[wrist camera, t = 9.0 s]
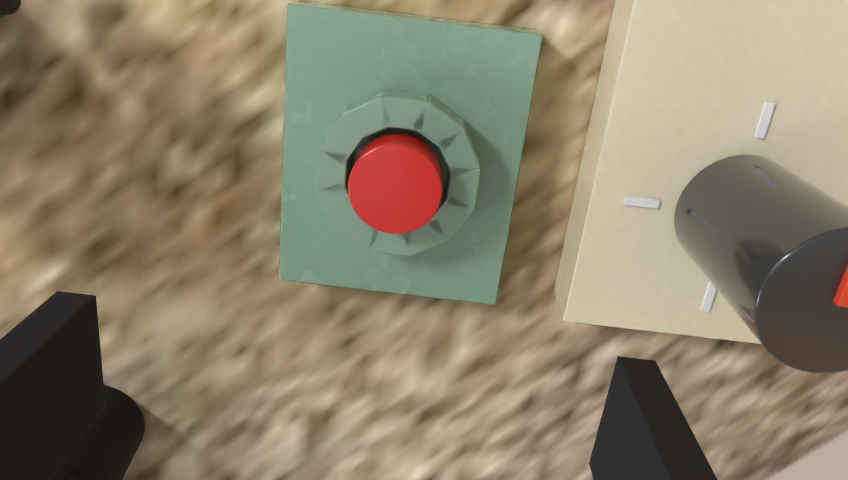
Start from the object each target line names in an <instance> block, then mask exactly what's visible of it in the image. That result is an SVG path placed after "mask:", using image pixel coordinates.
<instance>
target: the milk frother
mask: <svg viewBox="0 0 848 480" xmlns="http://www.w3.org/2000/svg"><path fill="white" fill-rule="evenodd" d="M20 4H21V0H0V17H2V16H4V15H7V14H12V13H15V12H16V11H17V10H18V9H19V6H20Z"/></svg>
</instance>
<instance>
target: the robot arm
mask: <svg viewBox="0 0 848 480" xmlns="http://www.w3.org/2000/svg"><path fill="white" fill-rule="evenodd" d="M104 410H105V397H104V385H103V374H102V362H101V351H100V339H99V328H98V316H97V305H96V296H93V295H85V294H76V293H68V292H59V291H57V292H56V293H55V294H54V295H53V296H51V297H50V298H49V299H48V300H47V301H45V302H44V303H43V304H42V305H41V306H39V307H38V308H37V309H36V310H35V311H34V312H32V313H31V314H30V315H29V316H28V317H26V318H25V319H24V320H23V321H22V322H20V323H19V324H18V325H17V326H16V327H15V328H13V329H12V330H11V331H10V332H9V333H7V334H6V335H5V336H4V337H3V338H1V339H0V480H51V479H52V477H53V476H54V475H55V473H56V472H57V471H58V469H59V468H60V467H61V466H62V464H63V463H64V462H65V460H66V459H67V458H68V456H69V455H70V454H71V453H72V451H73V450H74V449H75V447H76V446H77V445H78V443H79V442H80V441H81V440H82V438H83V437H84V436H85V434H86V433H87V432H88V430H89V429H90V428H91V426H92V425H93V424H94V423H95V421H96V420H97V419H98V417H99V416H100V415H101V413H102V412H103V411H104ZM589 464H590V468H591V471H592V475H593V478H594V480H717V478H716V477H715V475H714V473H713V471H712V469H711V467H710V465H709V463H708V461H707V459H706V457H705V455H704V454H703V452H702V450H701V448H700V446H699V444H698V442H697V440H696V438H695V436H694V434H693V432H692V431H691V429H690V427H689V425H688V423H687V421H686V419H685V417H684V415H683V413H682V411H681V409H680V407H679V406H678V404H677V402H676V400H675V398H674V396H673V394H672V392H671V390H670V388H669V386H668V384H667V383H666V381H665V379H664V377H663V375H662V373H661V371H660V369H659V367H658V365H657V363H656V361H653V360H644V359H636V358H627V357H618V358H617V361H616V365H615V369H614V373H613V376H612V380H611V384H610V388H609V391H608V395H607V399H606V403H605V406H604V410H603V414H602V418H601V421H600V425H599V429H598V433H597V436H596V440H595V444H594V448H593V451H592V455H591V459H590V463H589Z"/></svg>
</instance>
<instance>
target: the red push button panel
mask: <svg viewBox="0 0 848 480" xmlns="http://www.w3.org/2000/svg"><path fill="white" fill-rule="evenodd" d="M542 37H543V36H542V34H540V33H539V32H538V31H536V30H535V29H527V28H519V27H510V26H502V25H494V24H486V23H478V22H469V21H461V20H453V19H445V18H437V17H428V16H420V15H412V14H404V13H395V12H387V11H379V10H371V9H363V8H354V7H346V6H338V5H330V4H322V3H313V2H305V1H298V2H294V3H290V4H288V8H287V40H286V71H285V103H284V134H283V166H282V197H281V229H280V260H279V280H286V281H295V282H303V283H312V284H320V285H329V286H338V287H346V288H355V289H363V290H372V291H381V292H389V293H398V294H406V295H415V296H424V297H432V298H441V299H450V300H458V301H467V302H475V303H484V304H493V305H495V304H496V299H497V294H498V288H499V282H500V277H501V271H502V265H503V259H504V254H505V248H506V242H507V237H508V231H509V225H510V220H511V214H512V208H513V202H514V197H515V191H516V185H517V180H518V174H519V168H520V163H521V157H522V151H523V145H524V140H525V134H526V128H527V123H528V117H529V111H530V106H531V100H532V94H533V88H534V83H535V77H536V71H537V66H538V60H539V54H540V48H541V43H542ZM389 134H405V135H409V136H412V137H415V138H417V139H419V140H421V141H422V142H424V143H425V144H427V145H428V146H429V147H430V148H431V149H432V150H433V152H434V153H435V154H436V156H437V158H438V160H439V162H440V165H441V169H442V176H443V182H442V198H441V202H440V205H439V208H438V210H437V212H436V213H435V215H434V216H433V217H432V218H431V220H430V221H429V222H427V223H426V224H425V225H424V226H422V227H420V228H419V229H417V230H414V231H412V232H408V233H403V234H390V233H384V232H381V231H378V230H376V229H374V228H372V227H370V226H369V225H367V224H366V223H365V222H363V221H362V220H361V219H360V218H359V216H358V215H357V214H356V212H355V211H354V209H353V207H352V205H351V203H350V199H349V195H348V181H349V176H350V173H351V171H352V168H353V166H354V164H355V162H356V160H357V158H358V156H359V154H360V152H361V151H362V150H363V149H364V147H365V146H367V145H368V144H369V143H370V142H372V141H373V140H375V139H377V138H379V137H381V136H384V135H389Z"/></svg>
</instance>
